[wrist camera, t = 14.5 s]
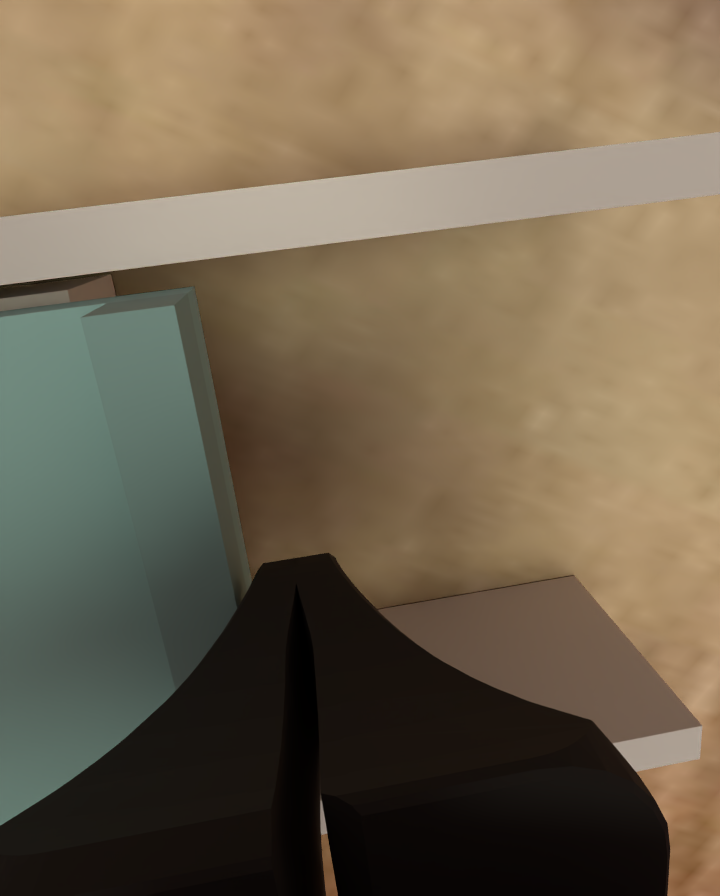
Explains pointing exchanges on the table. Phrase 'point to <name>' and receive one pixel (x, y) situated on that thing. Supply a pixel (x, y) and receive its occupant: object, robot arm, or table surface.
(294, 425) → the table surface
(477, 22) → the table surface
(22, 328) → the lid
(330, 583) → the robot arm
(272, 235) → the housing
